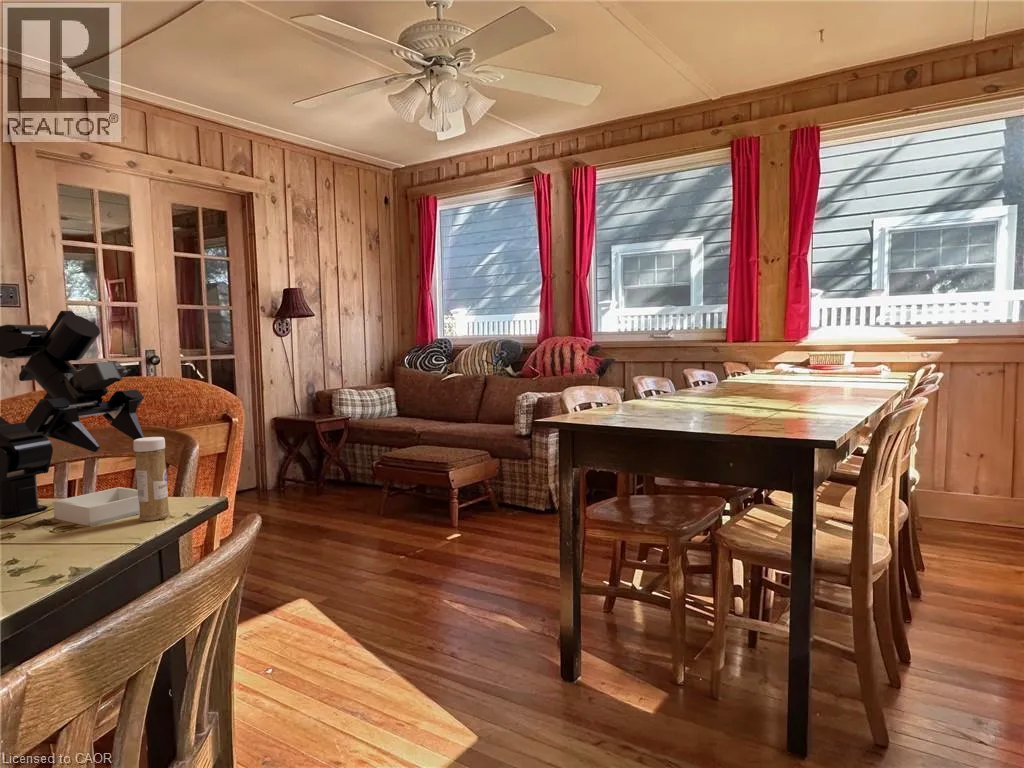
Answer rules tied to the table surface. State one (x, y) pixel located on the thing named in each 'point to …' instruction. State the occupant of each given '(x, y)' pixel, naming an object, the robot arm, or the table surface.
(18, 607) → the table surface
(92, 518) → the grey bin
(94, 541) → the table surface
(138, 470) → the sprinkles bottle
